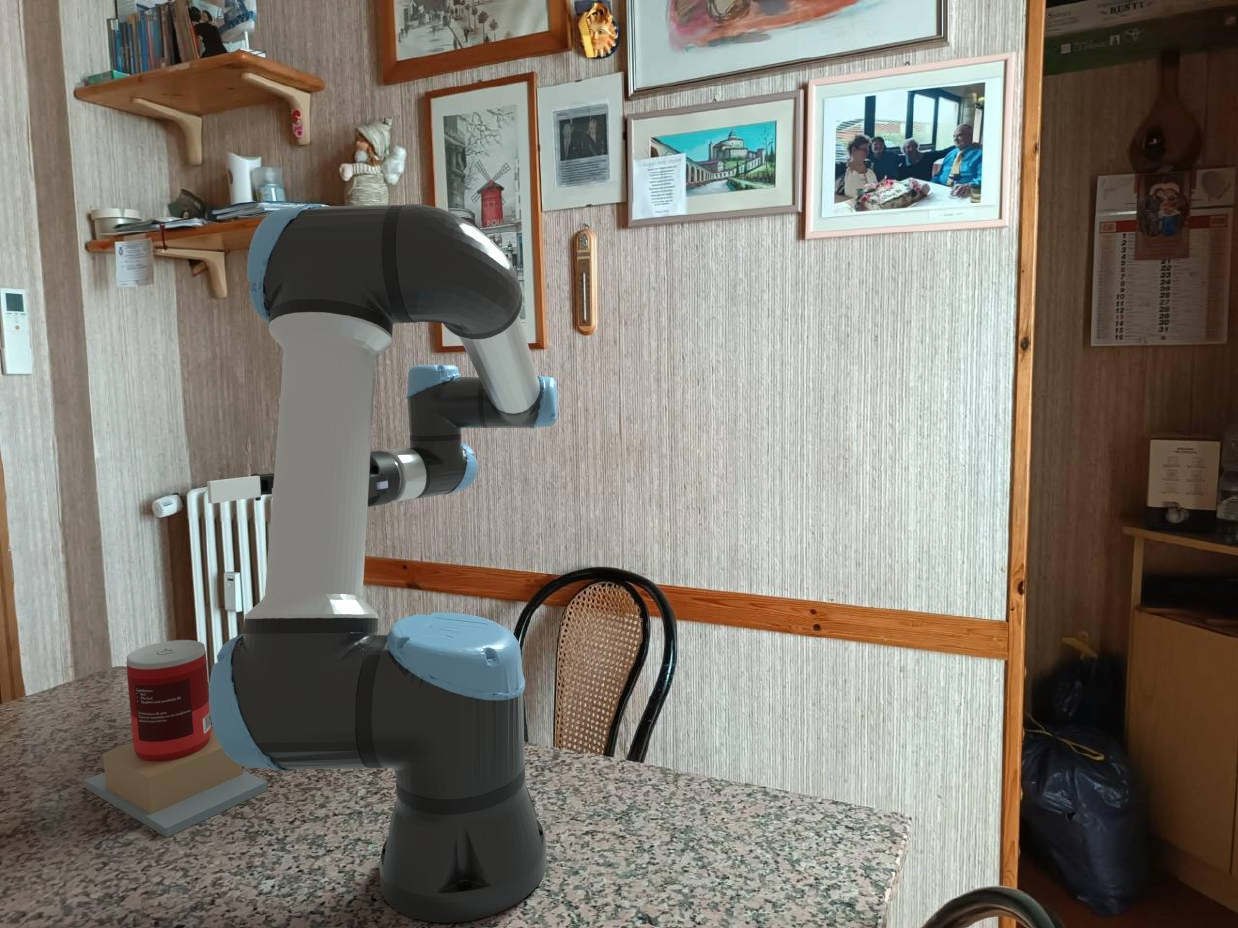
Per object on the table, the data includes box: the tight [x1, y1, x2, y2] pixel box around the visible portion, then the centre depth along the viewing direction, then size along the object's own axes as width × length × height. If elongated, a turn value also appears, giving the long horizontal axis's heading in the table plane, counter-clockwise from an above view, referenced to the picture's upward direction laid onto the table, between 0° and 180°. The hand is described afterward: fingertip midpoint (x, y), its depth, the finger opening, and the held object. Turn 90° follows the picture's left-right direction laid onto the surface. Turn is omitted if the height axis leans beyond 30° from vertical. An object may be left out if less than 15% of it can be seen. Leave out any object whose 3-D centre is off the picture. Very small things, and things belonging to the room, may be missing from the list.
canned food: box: [126, 639, 212, 761], centre depth 88 cm, size 8×8×11 cm
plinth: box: [84, 727, 269, 838], centre depth 89 cm, size 18×11×5 cm, turn 56°
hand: (240, 496), depth 94 cm, fingers open, 13 cm apart
